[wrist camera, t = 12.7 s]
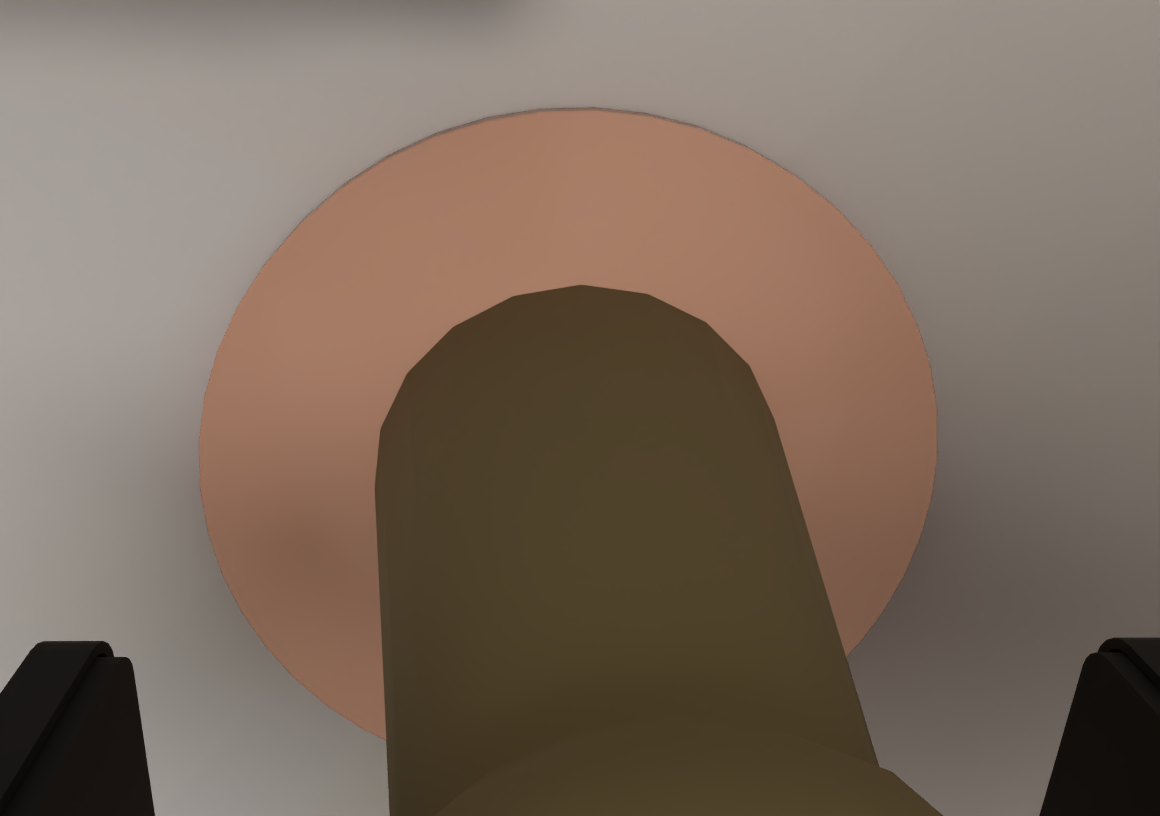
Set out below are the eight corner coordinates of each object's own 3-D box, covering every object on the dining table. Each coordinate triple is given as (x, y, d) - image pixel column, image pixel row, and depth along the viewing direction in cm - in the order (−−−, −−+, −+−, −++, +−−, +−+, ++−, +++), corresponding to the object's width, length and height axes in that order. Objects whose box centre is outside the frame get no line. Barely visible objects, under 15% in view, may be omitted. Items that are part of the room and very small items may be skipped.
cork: (618, 708, 17) (807, 1812, 7) (295, 529, 15) (-115, 1658, 5) (861, 432, 15) (1603, 1338, 5) (531, 197, 13) (644, 853, 3)
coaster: (986, 124, 14) (1006, 129, 14) (863, 750, 18) (875, 774, 18) (172, 90, 13) (158, 94, 13) (240, 758, 17) (231, 784, 17)
